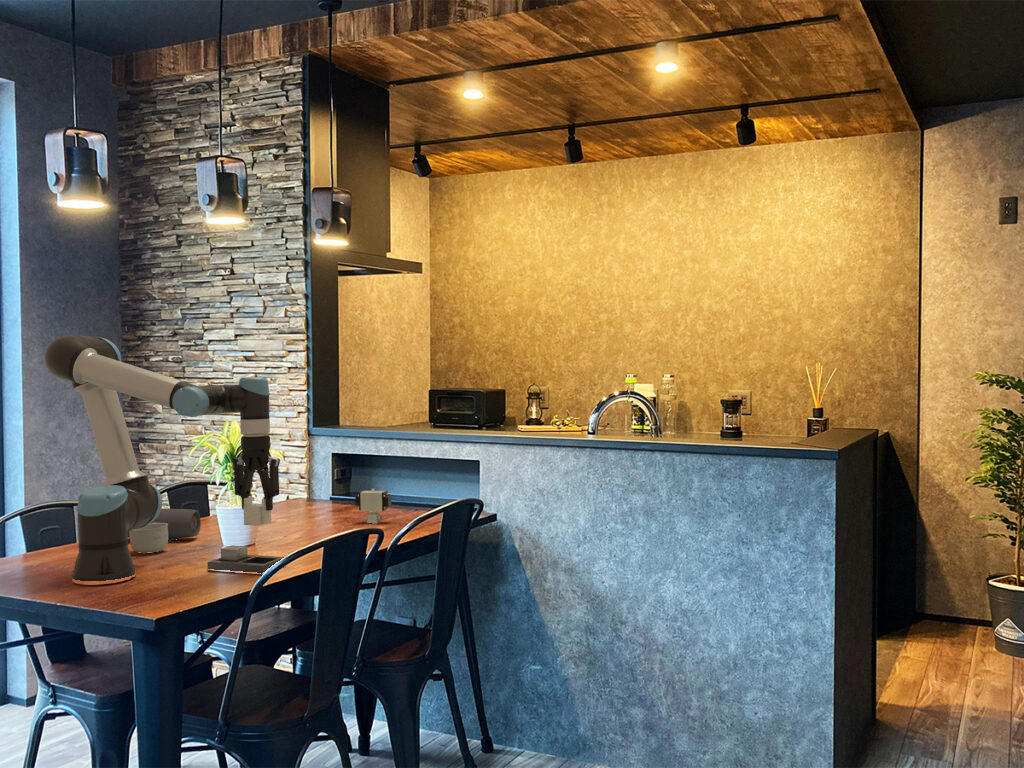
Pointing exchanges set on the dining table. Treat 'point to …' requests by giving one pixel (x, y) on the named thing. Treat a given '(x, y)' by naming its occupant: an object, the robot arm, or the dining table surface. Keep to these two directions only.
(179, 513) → the bluetooth speaker
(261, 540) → the dining table surface
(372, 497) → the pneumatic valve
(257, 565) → the dark grey tray
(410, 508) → the dining table surface
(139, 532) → the teacup
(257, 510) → the beige cube
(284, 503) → the dining table surface
